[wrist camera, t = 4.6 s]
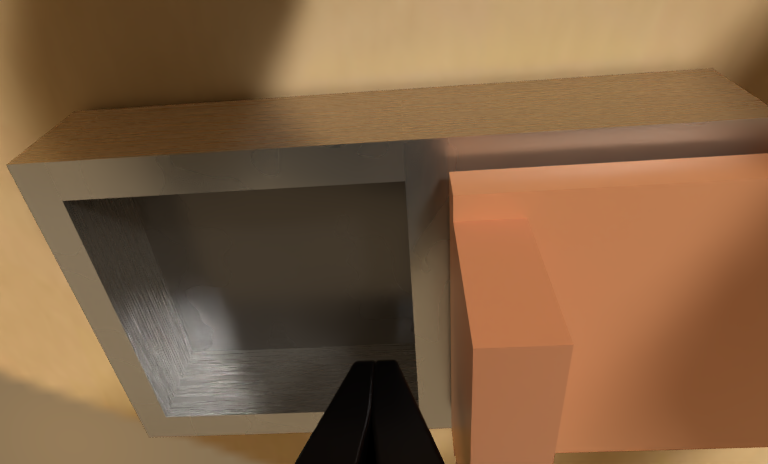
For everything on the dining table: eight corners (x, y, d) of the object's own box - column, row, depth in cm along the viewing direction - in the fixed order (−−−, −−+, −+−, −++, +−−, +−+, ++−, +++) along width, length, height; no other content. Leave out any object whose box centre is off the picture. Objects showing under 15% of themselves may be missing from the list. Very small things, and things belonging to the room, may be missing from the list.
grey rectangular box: (712, 68, 11) (784, 117, 9) (637, 346, 15) (674, 421, 13) (74, 111, 12) (6, 164, 10) (180, 364, 16) (149, 437, 14)
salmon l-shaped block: (879, 146, 9) (1121, 291, 6) (748, 416, 13) (855, 585, 10) (448, 171, 9) (474, 318, 6) (451, 425, 13) (467, 589, 10)
